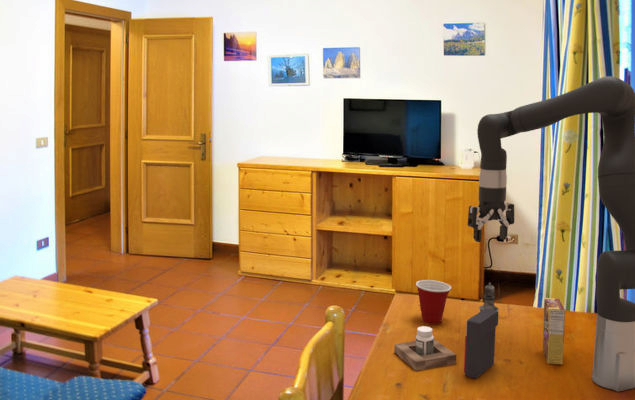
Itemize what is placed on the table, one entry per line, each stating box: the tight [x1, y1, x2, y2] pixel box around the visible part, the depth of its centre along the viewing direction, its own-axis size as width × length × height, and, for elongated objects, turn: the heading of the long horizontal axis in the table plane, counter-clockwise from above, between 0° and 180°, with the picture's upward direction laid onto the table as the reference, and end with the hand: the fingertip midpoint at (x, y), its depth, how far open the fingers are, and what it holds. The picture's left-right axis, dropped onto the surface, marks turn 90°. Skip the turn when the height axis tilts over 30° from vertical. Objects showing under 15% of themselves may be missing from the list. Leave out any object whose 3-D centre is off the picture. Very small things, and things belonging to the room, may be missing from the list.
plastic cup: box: [415, 279, 452, 325], centre depth 197 cm, size 11×11×12 cm
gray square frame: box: [393, 338, 457, 372], centre depth 171 cm, size 12×12×2 cm
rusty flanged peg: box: [478, 282, 499, 312], centre depth 198 cm, size 6×6×12 cm
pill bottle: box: [415, 325, 435, 356], centre depth 170 cm, size 5×5×8 cm
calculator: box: [463, 309, 499, 380], centre depth 162 cm, size 11×4×15 cm, turn 141°
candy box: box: [542, 297, 566, 365], centre depth 169 cm, size 9×4×15 cm, turn 168°
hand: (490, 240), depth 183 cm, fingers open, 8 cm apart
